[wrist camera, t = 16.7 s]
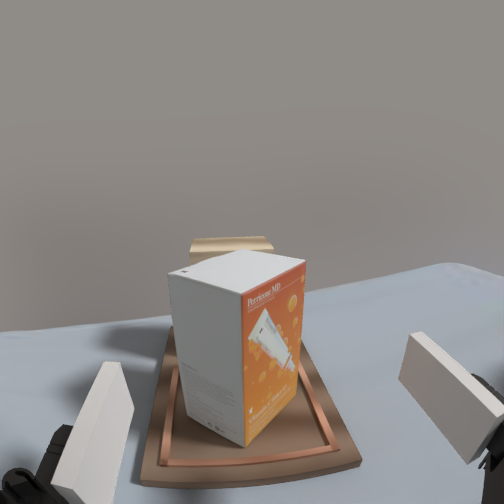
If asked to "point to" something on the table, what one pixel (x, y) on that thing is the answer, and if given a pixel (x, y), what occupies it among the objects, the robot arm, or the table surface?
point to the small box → (238, 338)
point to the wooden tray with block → (264, 444)
